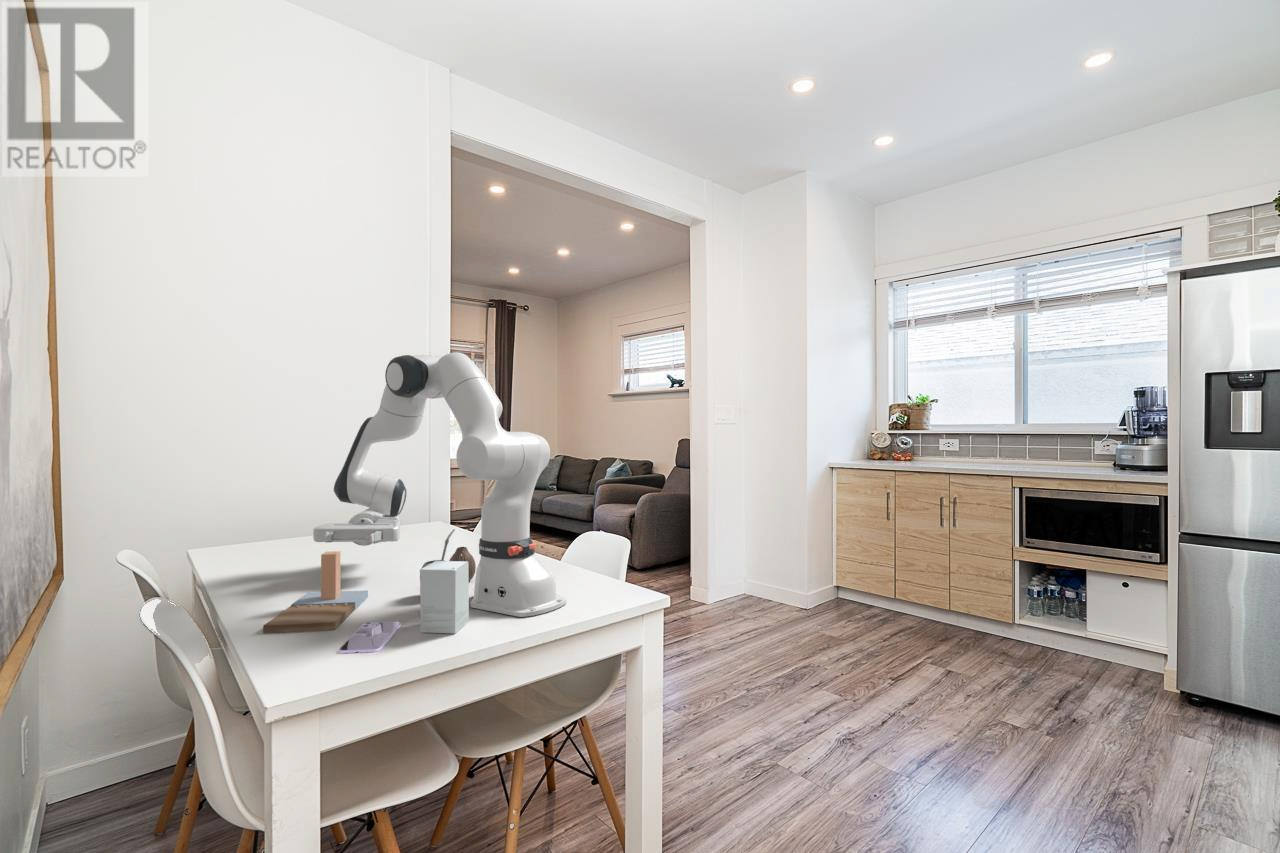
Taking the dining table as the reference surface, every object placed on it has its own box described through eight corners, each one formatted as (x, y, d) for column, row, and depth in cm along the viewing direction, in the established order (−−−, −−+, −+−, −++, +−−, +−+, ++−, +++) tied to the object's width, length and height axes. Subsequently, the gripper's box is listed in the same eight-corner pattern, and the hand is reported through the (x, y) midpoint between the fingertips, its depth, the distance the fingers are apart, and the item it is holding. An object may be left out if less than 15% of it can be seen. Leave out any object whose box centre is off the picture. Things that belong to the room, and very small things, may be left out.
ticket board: (334, 629, 115) (334, 621, 115) (263, 633, 113) (263, 624, 113) (354, 610, 127) (354, 602, 127) (290, 612, 125) (290, 605, 125)
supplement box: (469, 621, 121) (470, 560, 121) (455, 634, 113) (455, 569, 113) (435, 620, 121) (435, 559, 121) (418, 633, 114) (418, 568, 114)
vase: (481, 580, 152) (481, 546, 152) (460, 586, 146) (460, 551, 146) (463, 576, 155) (463, 543, 155) (441, 582, 150) (442, 548, 150)
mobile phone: (334, 650, 104) (363, 621, 118) (334, 656, 104) (363, 626, 118) (379, 648, 105) (402, 620, 119) (379, 654, 105) (402, 624, 119)
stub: (355, 609, 127) (355, 556, 127) (290, 611, 125) (291, 558, 125) (367, 596, 136) (368, 547, 136) (308, 598, 134) (308, 549, 134)
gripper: (324, 516, 155) (302, 526, 141) (405, 516, 158) (391, 526, 144) (324, 540, 155) (302, 552, 141) (405, 539, 158) (391, 551, 144)
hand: (348, 539), depth 143 cm, fingers open, 8 cm apart
